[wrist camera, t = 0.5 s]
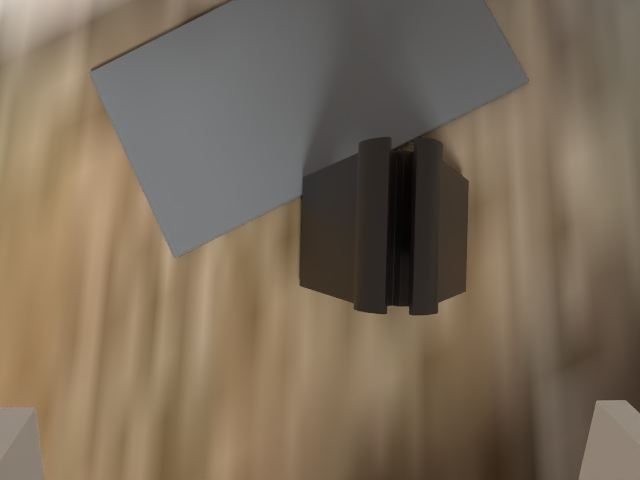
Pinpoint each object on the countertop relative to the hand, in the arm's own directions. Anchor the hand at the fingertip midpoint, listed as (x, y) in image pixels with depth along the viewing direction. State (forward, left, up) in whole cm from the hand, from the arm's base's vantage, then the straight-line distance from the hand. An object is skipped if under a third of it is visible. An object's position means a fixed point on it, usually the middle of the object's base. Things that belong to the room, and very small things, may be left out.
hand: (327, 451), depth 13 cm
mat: (+15, -5, -17) cm, 24 cm away
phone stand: (+5, -5, -17) cm, 19 cm away
